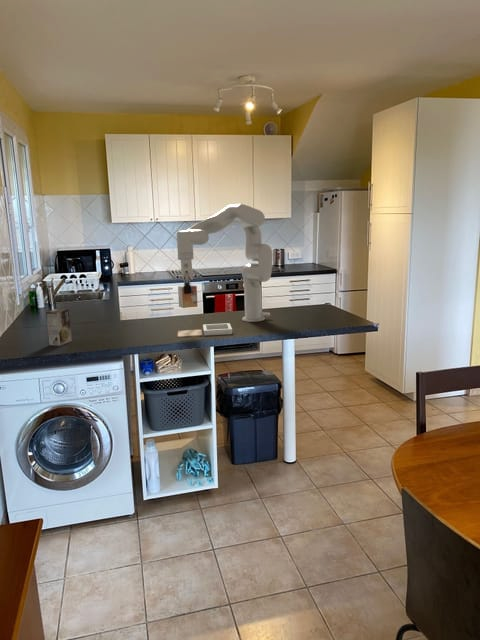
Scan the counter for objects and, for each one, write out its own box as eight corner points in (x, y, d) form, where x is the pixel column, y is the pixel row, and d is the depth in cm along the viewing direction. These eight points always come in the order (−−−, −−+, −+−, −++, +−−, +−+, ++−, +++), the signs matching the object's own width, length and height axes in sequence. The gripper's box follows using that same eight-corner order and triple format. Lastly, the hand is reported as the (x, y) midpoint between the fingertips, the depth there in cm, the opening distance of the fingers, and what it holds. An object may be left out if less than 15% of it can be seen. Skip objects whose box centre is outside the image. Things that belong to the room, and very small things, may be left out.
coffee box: (61, 340, 239) (57, 308, 235) (72, 341, 237) (69, 308, 233) (49, 345, 230) (45, 311, 227) (60, 345, 228) (56, 312, 225)
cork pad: (201, 330, 250) (201, 329, 250) (202, 336, 238) (202, 334, 238) (178, 331, 249) (177, 330, 249) (177, 337, 237) (177, 336, 237)
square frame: (229, 327, 255) (229, 323, 254) (232, 333, 241) (232, 329, 240) (203, 329, 253) (202, 324, 253) (204, 335, 240) (203, 330, 239)
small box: (182, 308, 237) (181, 287, 234) (178, 306, 241) (177, 285, 239) (197, 306, 240) (196, 285, 238) (193, 305, 245) (192, 284, 243)
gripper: (193, 257, 228) (195, 294, 231) (193, 254, 245) (194, 289, 248) (177, 258, 227) (179, 295, 230) (178, 255, 244) (180, 290, 247)
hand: (187, 292), depth 239 cm, fingers closed on small box, 7 cm apart
